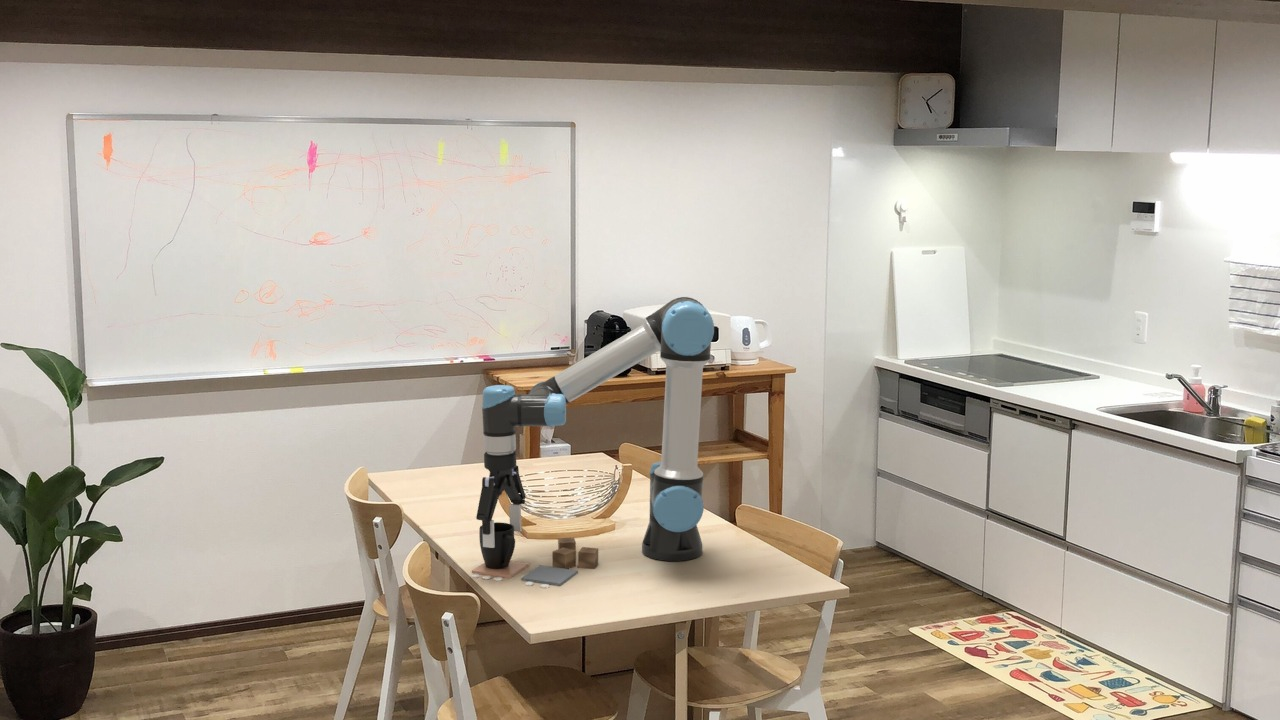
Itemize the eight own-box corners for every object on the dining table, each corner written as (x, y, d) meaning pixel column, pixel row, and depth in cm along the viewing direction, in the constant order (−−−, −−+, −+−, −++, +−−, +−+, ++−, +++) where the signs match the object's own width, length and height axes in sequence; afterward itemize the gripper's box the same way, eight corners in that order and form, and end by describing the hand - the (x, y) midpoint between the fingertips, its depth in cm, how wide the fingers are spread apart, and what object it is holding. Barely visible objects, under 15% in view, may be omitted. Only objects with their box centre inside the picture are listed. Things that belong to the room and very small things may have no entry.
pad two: (577, 572, 292) (578, 570, 291) (554, 589, 280) (554, 587, 280) (539, 567, 295) (539, 565, 295) (515, 583, 283) (515, 581, 283)
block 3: (598, 564, 299) (598, 548, 298) (594, 569, 295) (594, 553, 294) (582, 562, 299) (582, 546, 299) (578, 567, 296) (578, 551, 295)
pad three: (528, 565, 296) (528, 563, 296) (503, 582, 284) (503, 579, 284) (491, 560, 300) (491, 558, 300) (465, 576, 288) (465, 573, 288)
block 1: (574, 553, 307) (574, 537, 306) (575, 558, 303) (575, 542, 302) (558, 553, 306) (558, 538, 306) (559, 558, 302) (559, 543, 302)
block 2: (575, 566, 297) (576, 550, 296) (565, 570, 293) (565, 554, 293) (563, 563, 299) (563, 547, 298) (552, 567, 296) (552, 551, 295)
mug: (496, 577, 286) (495, 538, 284) (473, 563, 295) (473, 525, 294) (527, 572, 290) (527, 533, 288) (504, 558, 300) (504, 520, 298)
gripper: (510, 439, 302) (512, 522, 305) (459, 462, 279) (462, 552, 282) (537, 441, 299) (539, 525, 302) (488, 464, 276) (491, 555, 279)
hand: (502, 538), depth 292 cm, fingers open, 13 cm apart
